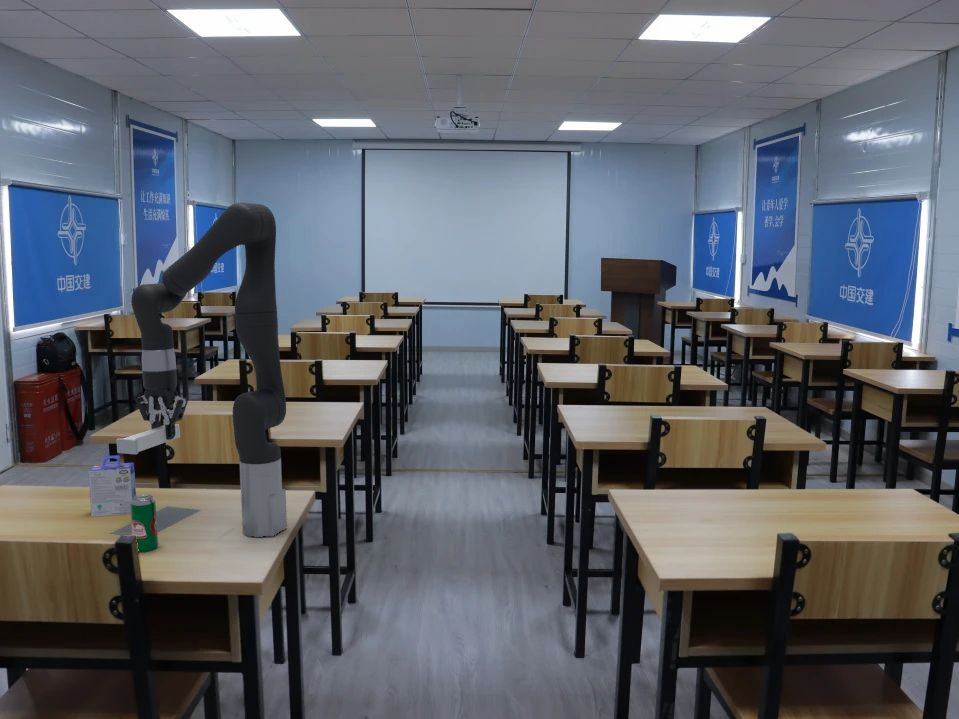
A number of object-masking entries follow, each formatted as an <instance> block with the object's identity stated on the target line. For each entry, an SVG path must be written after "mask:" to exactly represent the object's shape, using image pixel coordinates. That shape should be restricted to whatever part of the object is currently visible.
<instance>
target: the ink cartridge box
mask: <svg viewBox="0 0 959 719" xmlns="http://www.w3.org/2000/svg"><path fill="white" fill-rule="evenodd" d="M110 459H115V460H116V461H115V460H114V461H107V460H110ZM134 463H135V462H126V463H123V462H122V463H121V459H120V455H119V454H116V455H104V457H103V464H101V465H92V466H91V468H90V469H89V470H88V471H87V474H88V486H89V487H88V488H89V499H90V500H89V502H90V515H91V517H101V516H102V517H105V516H117V515H128V514H130V515H131V508H130V503H131V502H132V498H133V497H135V496H137V493H136V492H137V490H136V488H137V487H136V474H135V464H134Z"/></svg>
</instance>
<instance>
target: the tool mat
mask: <svg viewBox="0 0 959 719" xmlns="http://www.w3.org/2000/svg"><path fill="white" fill-rule="evenodd" d="M200 511H201V509H195V508H187V507H178V506H177V507H176V506H169V505H168V506H167V505H166V506H165V507H162V508H160V509H158V510H156V518H157V533H159V532H161V531H163V530H165V529H167V528H168V527H171V526H173V525H175V524H177V523H179V522H181V521H182V520H185V519H187V518H189V517H190V516H192V515H194V514H196V513H198V512H200ZM109 534H111V535H119V536H125V535H132V523H131V522H130V523H129V524H126V525H125V526H122V527H120V528H118V529H116V530H114V531H112V532H111V531H110V533H109Z"/></svg>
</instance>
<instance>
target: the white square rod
mask: <svg viewBox="0 0 959 719" xmlns="http://www.w3.org/2000/svg"><path fill="white" fill-rule="evenodd" d="M165 425H166V424H164V425H161V427H158V428H154V429H152V428H151V429H148V430H146V431H142V432H138V433H136V434H133V435H131V436H130V435H129V436H127V437H124V438H116V452H117V454H126V455H128V454H129V455H138V454H139V452H142V451H145V450H148V449H150V448H154V447H156V446H159V445H161V444H164V443H168V442H171V441H173V440H176V439H179V438H181V430H180V424H179V423H178V424H177V423H175V436H174V438H173V439H170V440H167V439H166V429H165Z"/></svg>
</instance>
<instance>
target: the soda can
mask: <svg viewBox="0 0 959 719" xmlns="http://www.w3.org/2000/svg"><path fill="white" fill-rule="evenodd" d="M156 504H157V503H156V499H155V498H154V495H152V494H140V495H136V496H135V497H133V498H132V502H131V503H130V508H131V514H130V518H131V522H130V524H131V523H132V535H136V536H137V543H138V549H139V552H138V553H147V552H152V551H155V550H156V549H158V548H159V539H158V538H159V537H158V532H157V518H156V511H157V505H156Z"/></svg>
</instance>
